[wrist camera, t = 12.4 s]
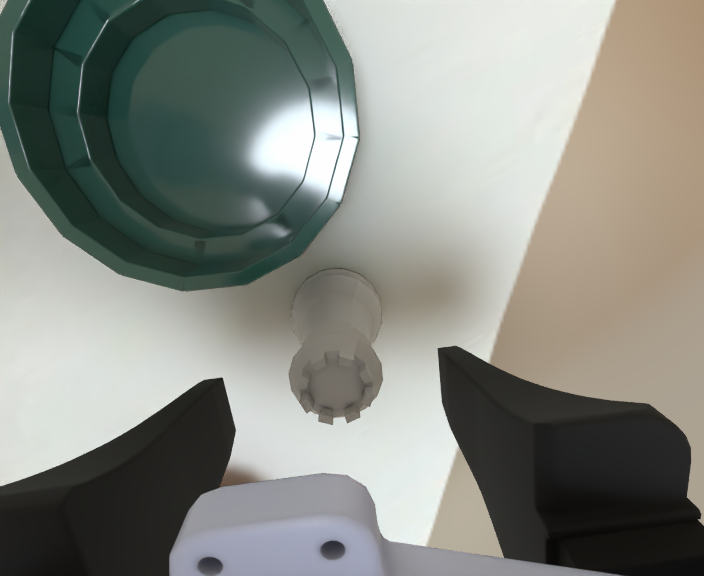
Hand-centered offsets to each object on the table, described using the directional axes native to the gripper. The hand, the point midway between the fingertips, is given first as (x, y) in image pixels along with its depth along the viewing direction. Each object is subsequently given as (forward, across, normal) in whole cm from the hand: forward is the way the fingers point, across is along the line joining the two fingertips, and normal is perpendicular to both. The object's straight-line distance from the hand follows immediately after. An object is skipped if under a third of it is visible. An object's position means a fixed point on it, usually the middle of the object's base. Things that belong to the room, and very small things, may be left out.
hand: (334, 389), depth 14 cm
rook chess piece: (+8, 0, 0) cm, 8 cm away
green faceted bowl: (+8, +4, -9) cm, 13 cm away
